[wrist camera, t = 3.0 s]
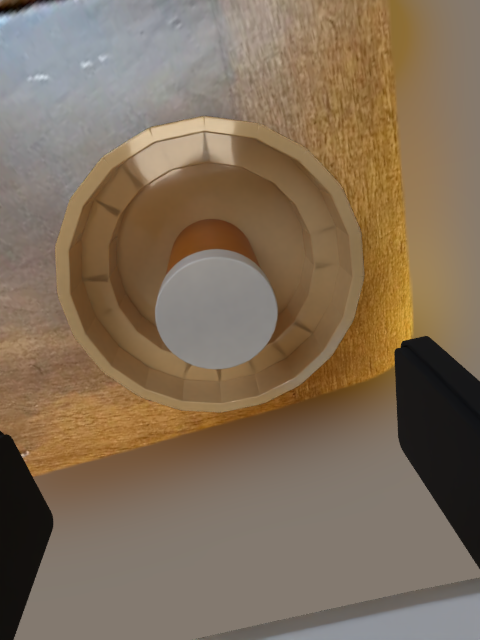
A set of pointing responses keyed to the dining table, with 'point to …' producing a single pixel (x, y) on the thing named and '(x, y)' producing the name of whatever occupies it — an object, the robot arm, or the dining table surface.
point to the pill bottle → (215, 298)
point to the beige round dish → (181, 211)
